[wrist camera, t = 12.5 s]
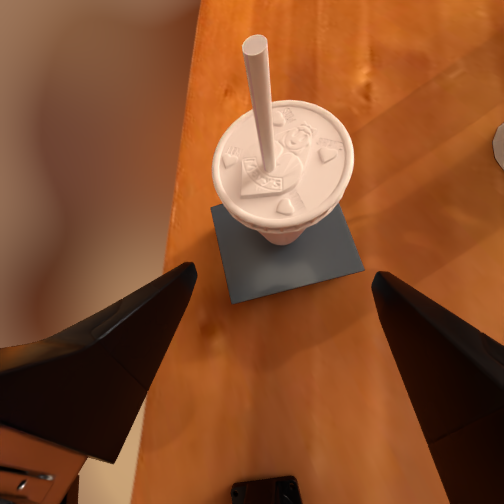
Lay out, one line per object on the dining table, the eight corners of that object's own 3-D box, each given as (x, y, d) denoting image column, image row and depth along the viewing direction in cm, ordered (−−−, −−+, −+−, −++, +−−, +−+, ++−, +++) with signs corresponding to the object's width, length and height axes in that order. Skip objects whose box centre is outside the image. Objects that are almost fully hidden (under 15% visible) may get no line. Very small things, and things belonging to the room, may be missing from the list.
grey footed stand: (347, 273, 20) (365, 270, 16) (242, 300, 22) (231, 304, 17) (317, 192, 22) (326, 169, 18) (223, 221, 24) (210, 207, 19)
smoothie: (234, 228, 18) (95, 66, 5) (280, 182, 18) (270, -108, 5) (282, 274, 17) (276, 227, 3) (332, 223, 17) (530, -32, 3)
